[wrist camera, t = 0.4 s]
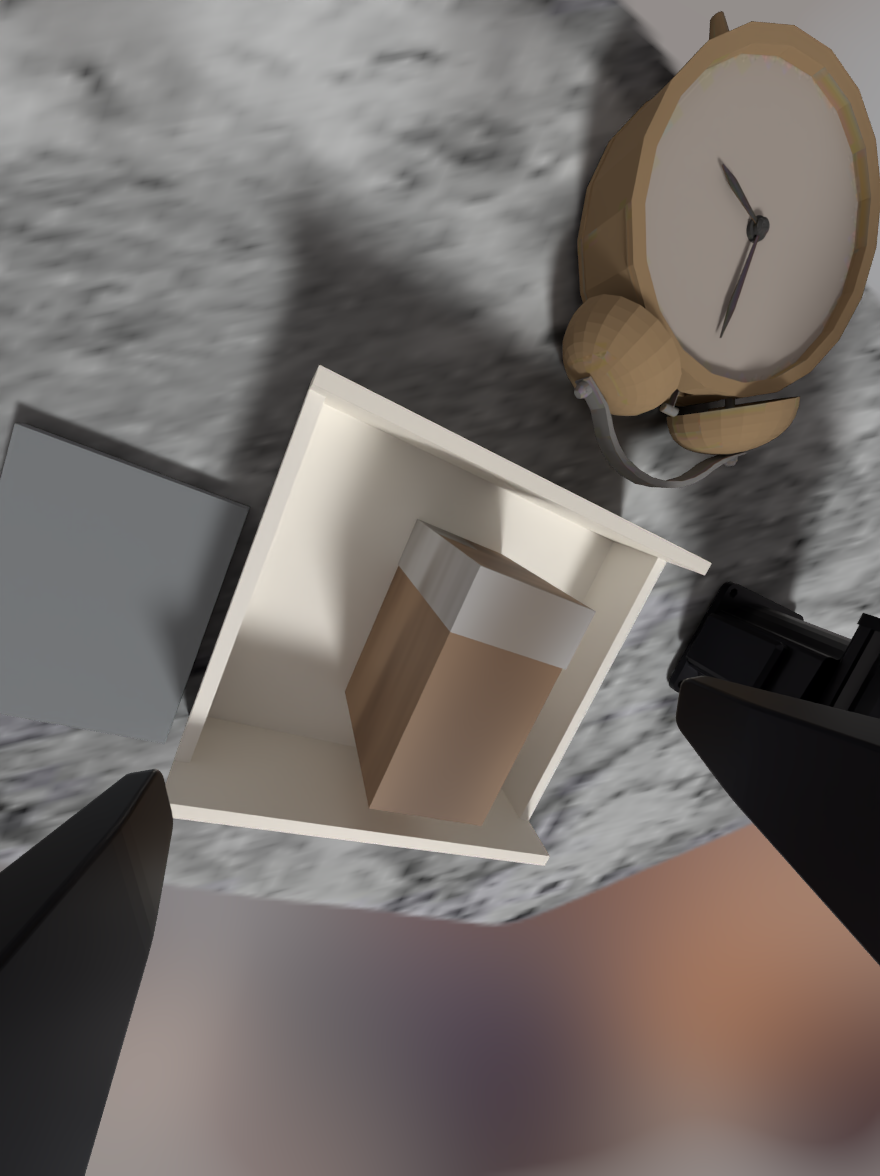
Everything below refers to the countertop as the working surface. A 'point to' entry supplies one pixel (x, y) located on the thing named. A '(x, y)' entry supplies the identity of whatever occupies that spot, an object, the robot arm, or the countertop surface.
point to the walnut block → (456, 676)
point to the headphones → (724, 244)
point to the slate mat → (103, 585)
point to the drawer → (351, 604)
